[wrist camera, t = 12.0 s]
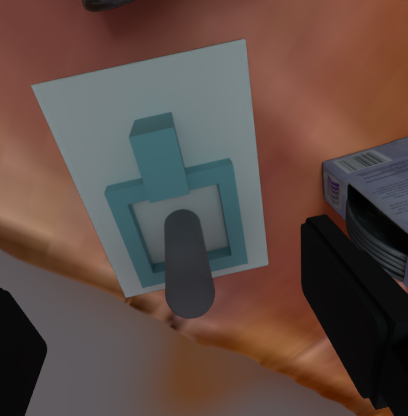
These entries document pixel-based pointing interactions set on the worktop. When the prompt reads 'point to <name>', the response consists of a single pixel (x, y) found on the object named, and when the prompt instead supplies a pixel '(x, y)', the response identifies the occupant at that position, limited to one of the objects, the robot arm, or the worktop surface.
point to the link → (172, 195)
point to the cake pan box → (374, 202)
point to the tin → (103, 4)
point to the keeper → (191, 153)
